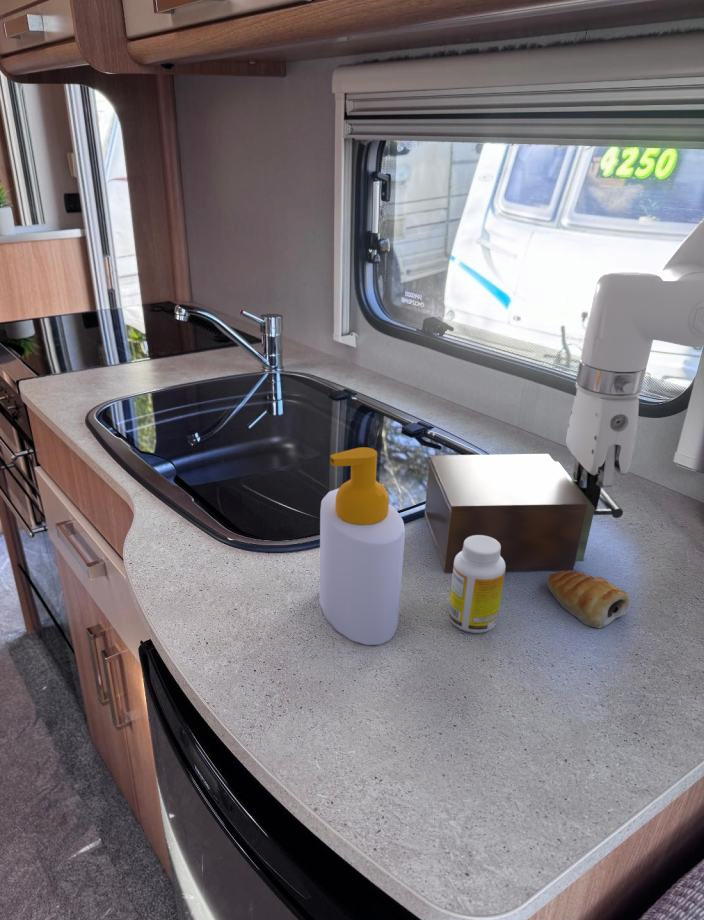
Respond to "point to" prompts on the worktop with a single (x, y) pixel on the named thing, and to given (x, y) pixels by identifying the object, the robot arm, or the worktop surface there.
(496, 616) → the supplement bottle
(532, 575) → the worktop surface
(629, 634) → the worktop surface
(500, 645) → the worktop surface
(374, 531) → the soap bottle
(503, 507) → the cabinet
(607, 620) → the pastry
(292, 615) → the worktop surface
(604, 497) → the drawer
